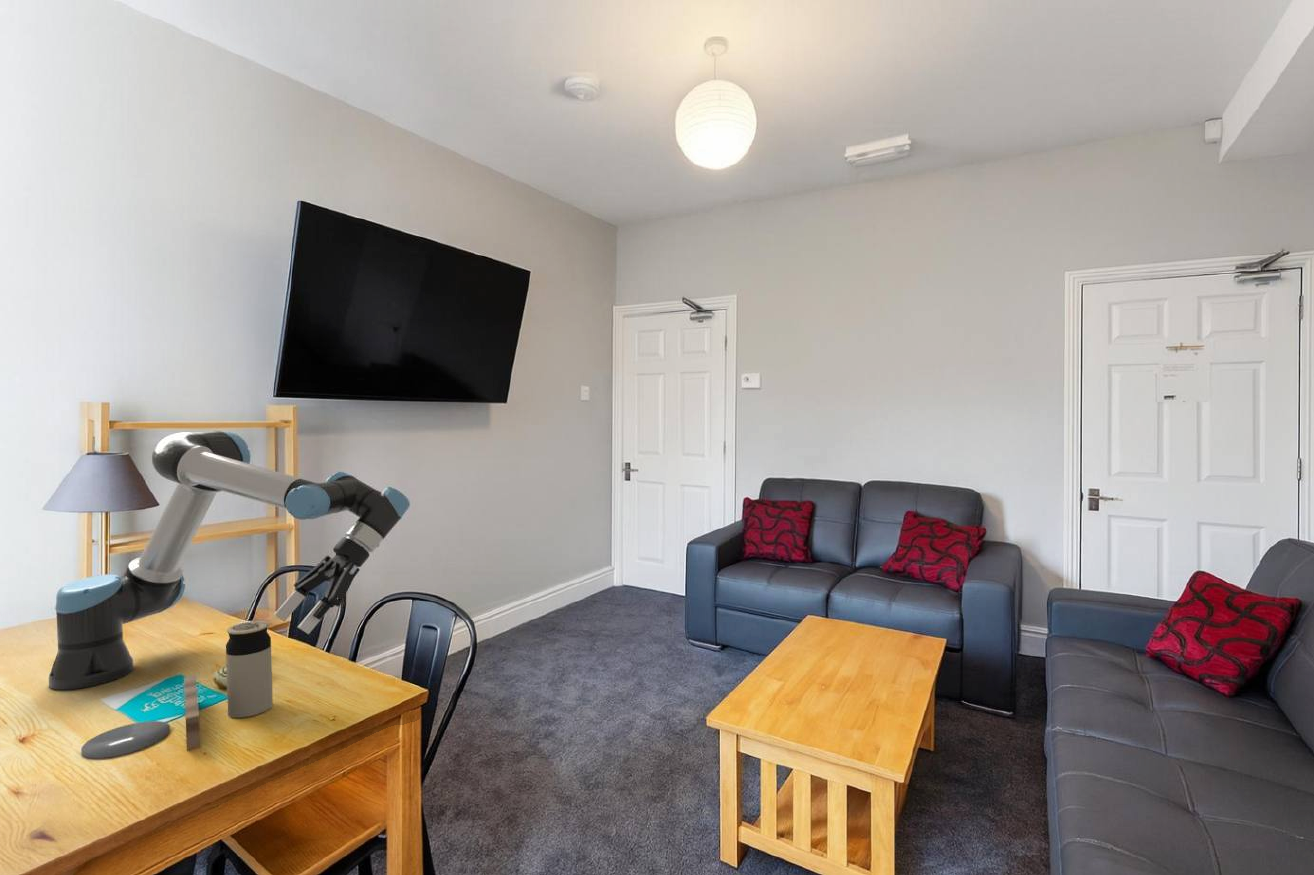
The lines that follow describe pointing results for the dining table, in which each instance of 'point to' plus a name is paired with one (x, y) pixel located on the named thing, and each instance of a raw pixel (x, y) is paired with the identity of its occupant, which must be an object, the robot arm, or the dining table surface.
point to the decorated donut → (221, 678)
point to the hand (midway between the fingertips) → (290, 624)
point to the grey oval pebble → (125, 739)
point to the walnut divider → (191, 713)
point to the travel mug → (249, 669)
